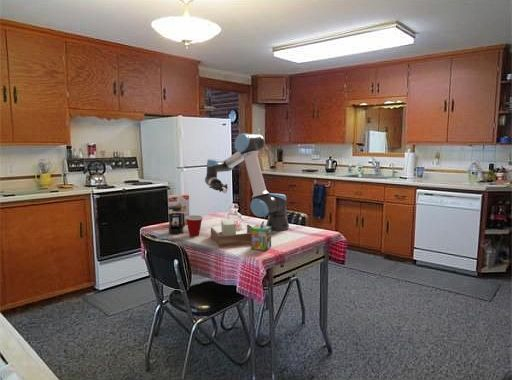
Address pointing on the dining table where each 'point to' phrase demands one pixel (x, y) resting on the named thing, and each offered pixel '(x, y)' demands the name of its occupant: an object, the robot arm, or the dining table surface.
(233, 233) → the tile block
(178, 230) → the french press
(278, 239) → the dining table surface
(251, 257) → the dining table surface
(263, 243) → the chalk box
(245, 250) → the dining table surface
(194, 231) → the plastic cup
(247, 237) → the box
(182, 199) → the cracker box
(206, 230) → the dining table surface
